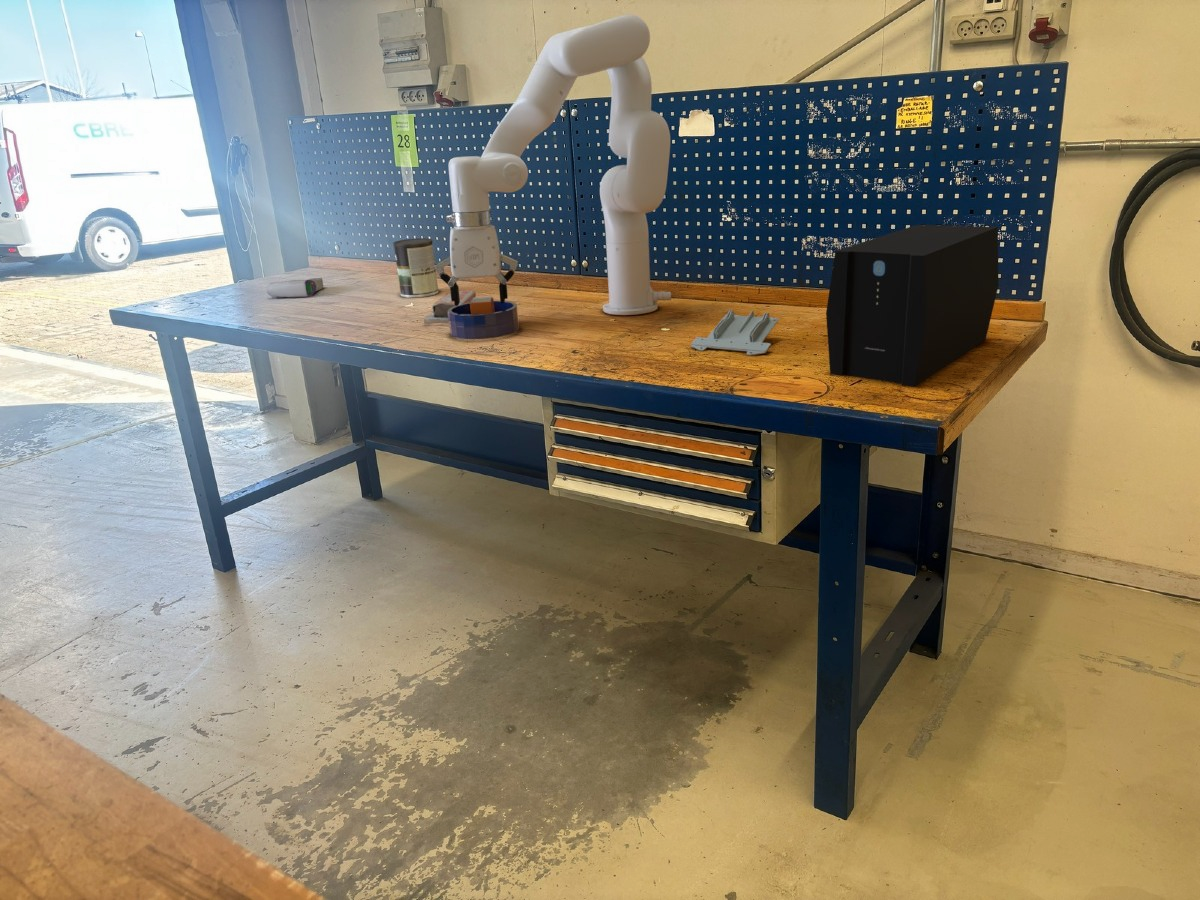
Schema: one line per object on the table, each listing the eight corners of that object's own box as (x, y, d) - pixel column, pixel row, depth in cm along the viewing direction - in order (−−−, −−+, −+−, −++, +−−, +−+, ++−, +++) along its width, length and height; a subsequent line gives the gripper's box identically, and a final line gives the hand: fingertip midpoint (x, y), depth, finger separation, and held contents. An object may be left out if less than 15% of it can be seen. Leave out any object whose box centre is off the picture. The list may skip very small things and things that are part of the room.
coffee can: (394, 298, 226) (387, 244, 221) (408, 290, 235) (400, 238, 230) (432, 297, 224) (424, 243, 219) (444, 289, 234) (437, 237, 229)
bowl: (521, 323, 189) (519, 298, 187) (516, 339, 176) (514, 312, 174) (456, 327, 189) (452, 302, 187) (446, 343, 176) (443, 317, 174)
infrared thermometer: (327, 290, 249) (310, 297, 235) (287, 292, 249) (267, 299, 235) (325, 274, 248) (307, 280, 233) (284, 276, 248) (264, 282, 234)
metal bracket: (717, 303, 168) (790, 308, 160) (720, 329, 171) (792, 335, 164) (686, 340, 159) (762, 346, 151) (690, 366, 162) (765, 374, 155)
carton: (496, 326, 184) (493, 296, 182) (494, 332, 180) (490, 300, 177) (476, 328, 185) (472, 297, 182) (473, 333, 180) (469, 302, 177)
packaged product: (442, 289, 207) (482, 287, 206) (445, 309, 209) (484, 307, 208) (420, 304, 191) (464, 303, 189) (423, 325, 192) (466, 324, 191)
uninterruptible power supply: (823, 372, 141) (828, 250, 134) (906, 329, 164) (914, 223, 157) (921, 387, 131) (932, 256, 124) (995, 339, 154) (1008, 225, 147)
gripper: (426, 224, 170) (436, 309, 176) (513, 220, 170) (519, 305, 176) (433, 220, 177) (441, 302, 183) (515, 216, 177) (522, 298, 183)
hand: (480, 303), depth 180 cm, fingers open, 9 cm apart
